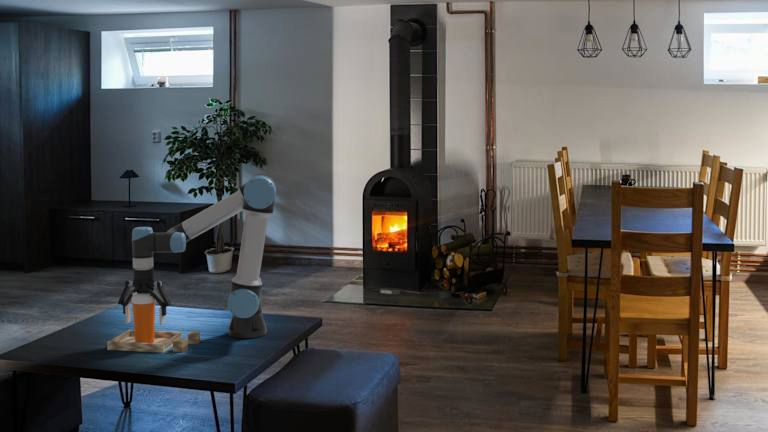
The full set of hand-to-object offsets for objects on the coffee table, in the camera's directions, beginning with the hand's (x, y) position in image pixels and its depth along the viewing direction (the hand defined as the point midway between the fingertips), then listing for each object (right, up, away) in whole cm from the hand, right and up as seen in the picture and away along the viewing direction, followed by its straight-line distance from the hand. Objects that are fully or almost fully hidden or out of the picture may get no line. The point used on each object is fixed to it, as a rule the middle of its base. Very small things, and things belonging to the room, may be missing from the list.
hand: (145, 323), depth 320 cm
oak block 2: (+18, -8, +4) cm, 20 cm away
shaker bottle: (0, -7, +1) cm, 7 cm away
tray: (0, -8, +1) cm, 8 cm away
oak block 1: (+15, -9, -6) cm, 19 cm away
